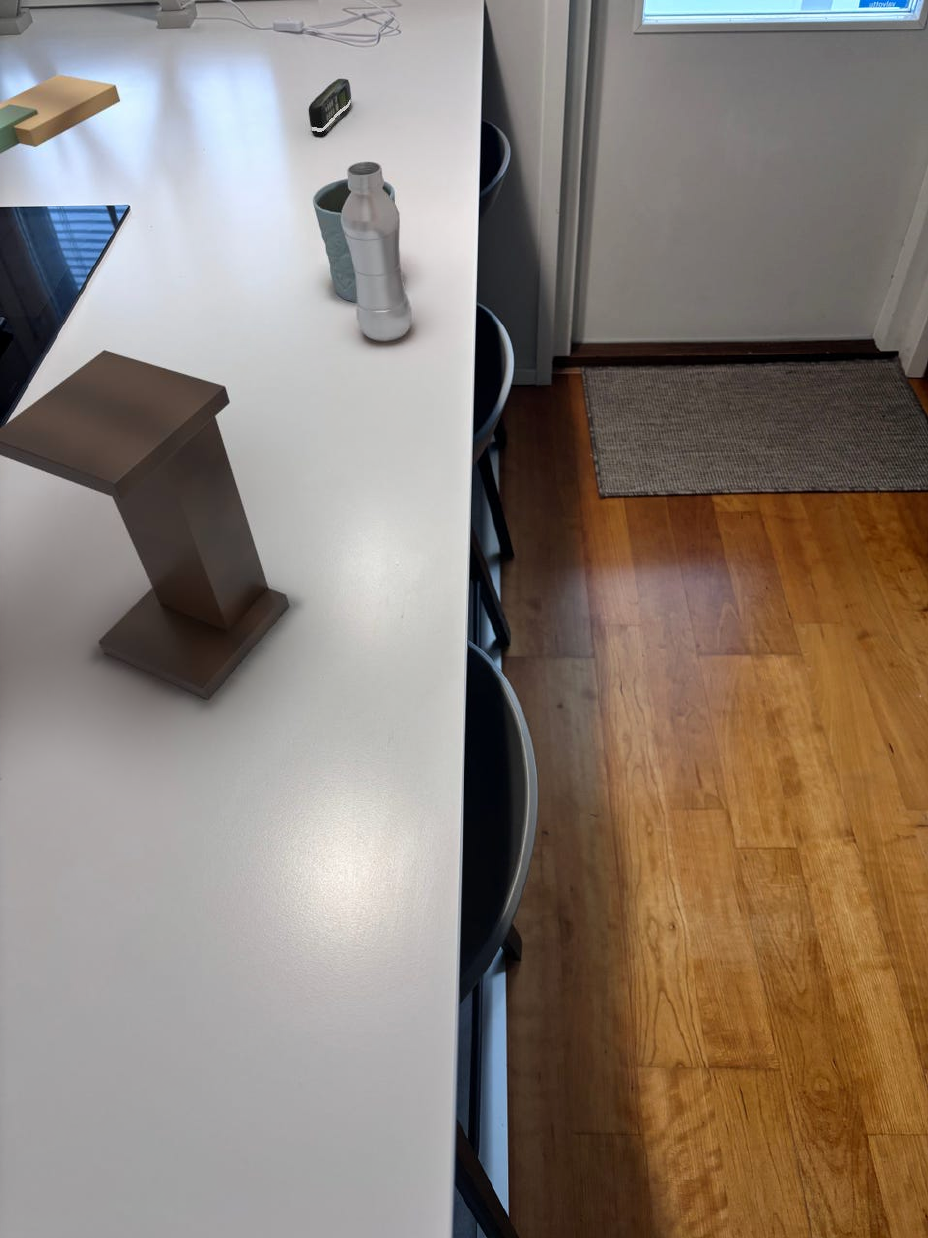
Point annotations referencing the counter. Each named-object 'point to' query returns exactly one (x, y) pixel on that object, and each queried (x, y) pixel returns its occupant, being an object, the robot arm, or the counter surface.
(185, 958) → the counter surface
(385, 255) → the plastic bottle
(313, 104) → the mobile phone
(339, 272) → the blue-grey embossed cup
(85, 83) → the spatula
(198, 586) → the brown pedestal stand
